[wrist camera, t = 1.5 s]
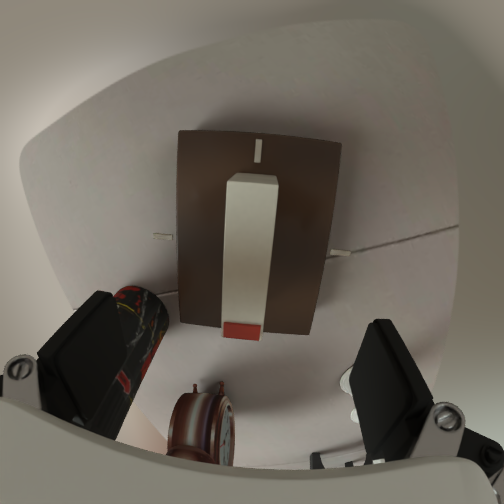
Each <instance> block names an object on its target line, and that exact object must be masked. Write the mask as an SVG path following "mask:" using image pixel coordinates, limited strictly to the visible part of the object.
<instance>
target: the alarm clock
mask: <svg viewBox="0 0 504 504" xmlns="http://www.w3.org/2000/svg"><path fill="white" fill-rule="evenodd" d="M223 385H224V382H220V389H219V393H218V395H216V394H210V393H198V392H197V388H196V387H197V384H193V387H194V389H193V393H184V394H183V395H181V397H180V398H179V399H178V401H177V403H176V405H175V407H174V410H173V413H172V416H171V420H170V425H169V432H168V452H167V454H166V455H167V456H172V457H176V458H181V459H186V460H191V461H197V462H203V463H209V464H216V465H223V466H232V467H233V460H234V447H235V422H234V412H233V407H232V404H231V402H230V401H229V399H228V397H227V396H224V388H223Z"/></svg>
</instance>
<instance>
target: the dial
mask: <svg viewBox="0 0 504 504" xmlns="http://www.w3.org/2000/svg"><path fill="white" fill-rule="evenodd" d="M278 188H279V185H278V181H277V177H276V176H274V175H263V174H251V173H236V174H235V175H234V176H232V177H231V178H230V179H229V180H228V181H227V191H226V210H225V231H224V255H223V283H222V322H221V336H222V337H226V338H235V339H245V340H256V341H261V340H262V333H263V325H264V317H265V308H266V300H267V291H268V283H269V274H270V265H271V256H272V247H273V238H274V228H275V218H276V208H277V198H278Z"/></svg>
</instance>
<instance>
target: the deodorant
mask: <svg viewBox="0 0 504 504" xmlns="http://www.w3.org/2000/svg"><path fill="white" fill-rule="evenodd" d="M113 297H115V298H116V301H117V306H118V311H119V317H120V321H121V326H122V331H123V335H124V340H125V344H126V348H127V358H126V360H125V362H124V364H123V365H122V367H121V369H120V370H119V372H118V374H117V376H116V377H115V379H114V381H113V383H112V384H111V386H110V388H109V390H108V391H107V393H106V395H105V397H104V398H103V400H102V402H101V404H100V406H99V407H98V409H97V411H96V413H95V415H94V417H93V418H92V419H91V420H88V421H87V423H86V425H85V426H83V425H81V424H79V423H76V422H74V421H73V420H72V421H71V423H70V424H73V425H75V426H78V427H80V428H83V429H85V430H88V431H90V432H93V433H95V434H98V435H100V436H103V437H106V438H109V439H112V440H114V441H115V440H116V438H117V435H118V433H119V431H120V429H121V426H122V424H123V422H124V419H125V417H126V415H127V412H128V411H129V408H130V406H131V404H132V402H133V400H134V397H135V395H136V393H137V391H138V389H139V387H140V384H141V382H142V380H143V378H144V376H145V374H146V372H147V370H148V367H149V365H150V363H151V361H152V359H153V357H154V355H155V353H156V351H157V349H158V347H159V345H160V343H161V341H162V339H163V337H164V335H165V333H166V331H167V329H168V325H169V315H168V313H167V310H166V308H165V306H164V304H163V303H162V302H161V300H160V299H159V298H158V297H157V296H156V295H154V294H153V293H151V292H150V291H148V290H146V289H144V288H141V287H136V286H127V287H124V288H122V289H120V290H119V291H118V292H117V293H116V294H115V295H114V296H113Z"/></svg>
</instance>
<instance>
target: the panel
mask: <svg viewBox="0 0 504 504" xmlns="http://www.w3.org/2000/svg"><path fill="white" fill-rule="evenodd" d="M341 148H342V144H341V143H338V142H331V141H325V140H318V139H311V138H303V137H295V136H286V135H276V134H265V133H251V132H234V131H205V130H180V131H179V132H178V151H177V182H176V241H177V273H178V293H179V309H180V322H181V323H187V324H194V325H202V326H210V327H218V328H221V322H222V283H223V255H224V231H225V210H226V191H227V181H228V180H229V179H230V178H231V177H232V176H234V175H235V174H236V173H251V174H263V175H274V176H276V177H277V181H278V185H279V188H278V198H277V208H276V218H275V228H274V238H273V247H272V256H271V265H270V274H269V283H268V291H267V300H266V308H265V317H264V325H263V332H269V333H282V334H297V335H309V334H310V329H311V325H312V321H313V316H314V312H315V308H316V303H317V298H318V294H319V289H320V284H321V279H322V274H323V269H324V264H325V258H326V253H327V247H328V241H329V236H330V230H331V223H332V217H333V210H334V204H335V197H336V189H337V182H338V174H339V166H340V157H341ZM153 239H163V240H173V235H171V234H159V233H154V234H153ZM350 253H351V251H348V250H338V249H330V255H340V256H350Z"/></svg>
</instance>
